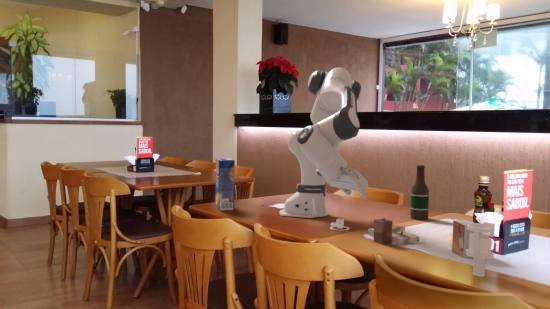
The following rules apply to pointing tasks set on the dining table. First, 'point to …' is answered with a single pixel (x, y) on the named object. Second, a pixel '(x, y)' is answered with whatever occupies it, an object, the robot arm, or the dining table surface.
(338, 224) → the white curved piece
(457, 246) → the small box
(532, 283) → the dining table surface
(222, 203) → the juice carton
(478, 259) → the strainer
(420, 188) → the beer bottle
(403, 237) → the ash board
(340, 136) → the robot arm
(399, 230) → the block
